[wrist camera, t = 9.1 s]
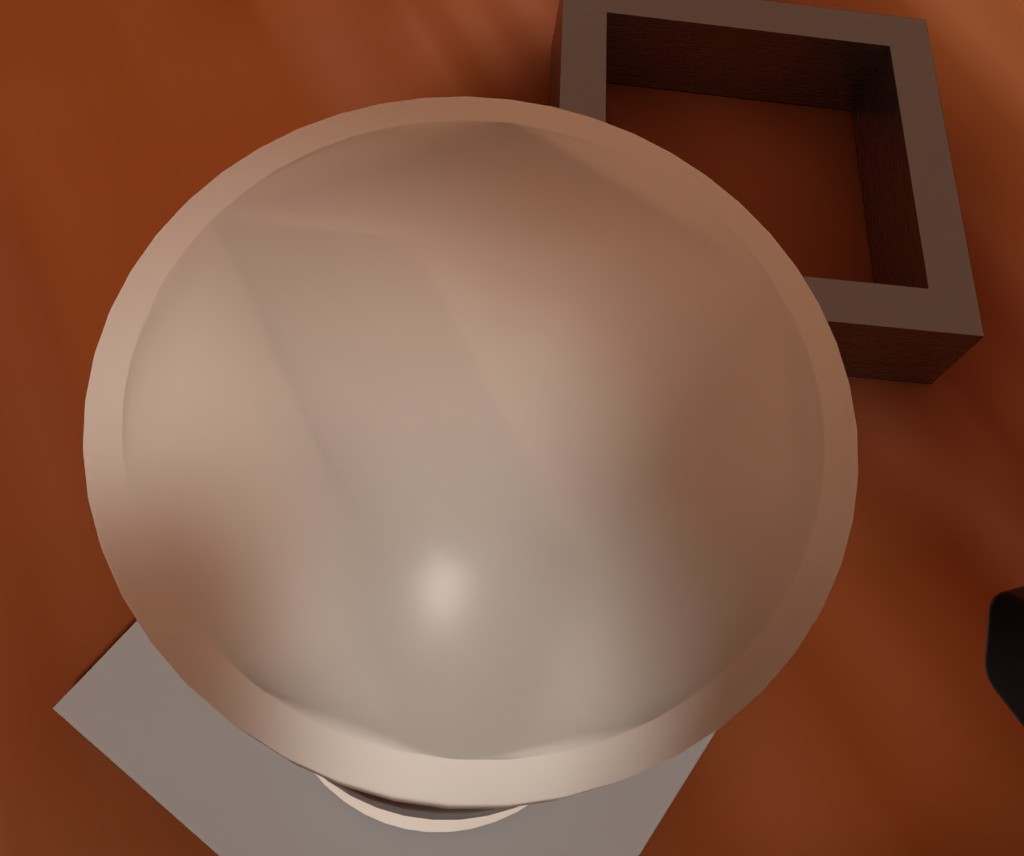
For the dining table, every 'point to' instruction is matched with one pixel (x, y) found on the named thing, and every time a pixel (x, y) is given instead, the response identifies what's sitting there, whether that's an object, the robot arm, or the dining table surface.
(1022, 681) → the robot arm
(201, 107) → the dining table surface
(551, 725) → the cable reel
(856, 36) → the reel dock
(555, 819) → the rubber mat
